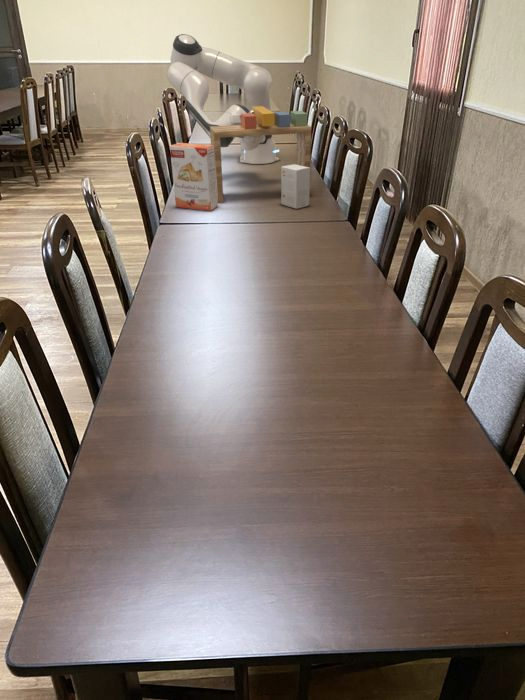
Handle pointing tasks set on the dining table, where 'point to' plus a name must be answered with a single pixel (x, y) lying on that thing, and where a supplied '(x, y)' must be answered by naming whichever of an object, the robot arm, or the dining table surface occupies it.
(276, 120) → the block
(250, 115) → the block
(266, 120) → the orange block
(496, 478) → the dining table surface
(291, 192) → the small box
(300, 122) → the block
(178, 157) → the cracker box
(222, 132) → the shelf
